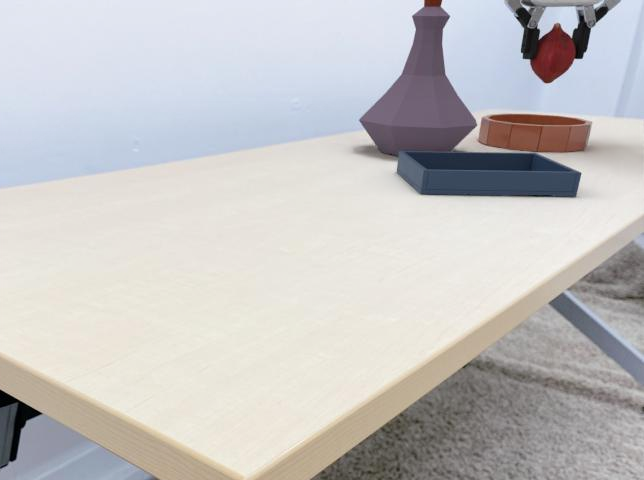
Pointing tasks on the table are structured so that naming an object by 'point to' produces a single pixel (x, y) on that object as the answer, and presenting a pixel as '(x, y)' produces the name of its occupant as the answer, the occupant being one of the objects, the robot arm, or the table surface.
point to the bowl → (535, 132)
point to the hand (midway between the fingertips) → (552, 57)
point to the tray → (486, 173)
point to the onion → (553, 54)
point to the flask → (421, 96)
